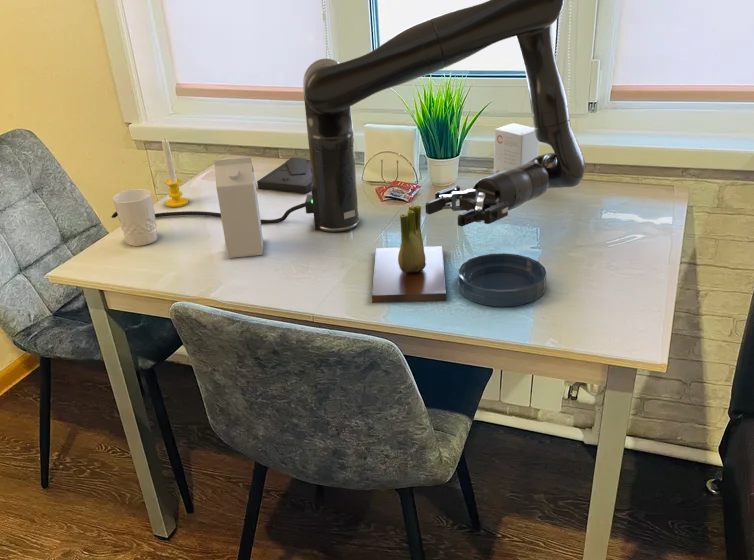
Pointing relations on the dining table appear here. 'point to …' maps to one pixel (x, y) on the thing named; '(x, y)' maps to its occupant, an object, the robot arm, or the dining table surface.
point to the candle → (172, 179)
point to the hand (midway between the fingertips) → (442, 215)
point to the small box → (514, 146)
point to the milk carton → (239, 207)
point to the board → (408, 278)
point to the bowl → (502, 279)
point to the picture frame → (289, 177)
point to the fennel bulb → (411, 242)
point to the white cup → (136, 216)
